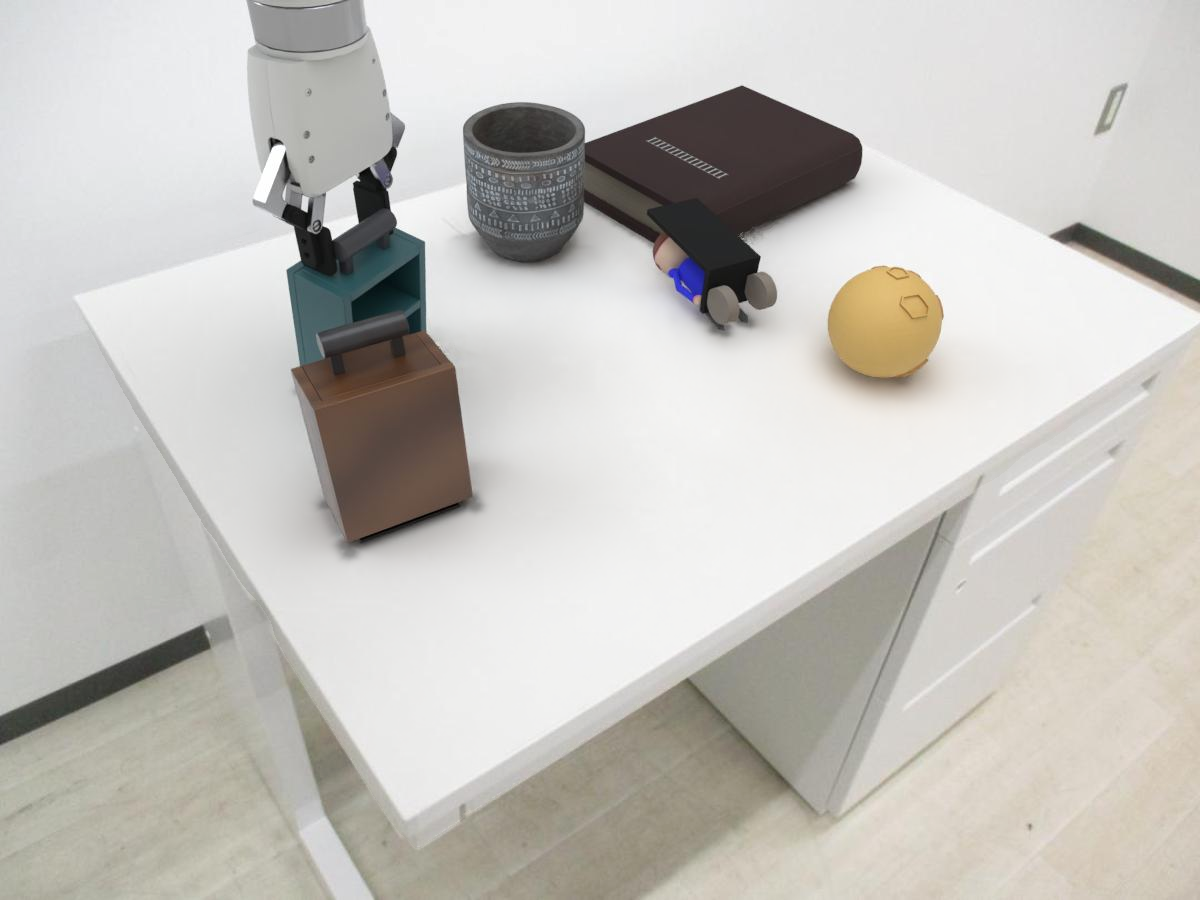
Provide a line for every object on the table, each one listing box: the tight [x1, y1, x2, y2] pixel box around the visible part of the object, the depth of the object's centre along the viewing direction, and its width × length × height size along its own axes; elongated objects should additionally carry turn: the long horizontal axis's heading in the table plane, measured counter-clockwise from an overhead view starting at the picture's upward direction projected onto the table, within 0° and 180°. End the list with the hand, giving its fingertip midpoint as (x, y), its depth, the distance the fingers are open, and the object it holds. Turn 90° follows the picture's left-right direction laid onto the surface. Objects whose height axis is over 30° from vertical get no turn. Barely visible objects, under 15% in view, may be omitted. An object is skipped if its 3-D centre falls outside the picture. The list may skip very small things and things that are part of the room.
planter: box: [462, 101, 586, 263], centre depth 98 cm, size 12×12×13 cm
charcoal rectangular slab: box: [358, 502, 461, 544], centre depth 74 cm, size 6×8×1 cm
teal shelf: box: [285, 208, 427, 366], centre depth 79 cm, size 15×10×6 cm
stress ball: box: [827, 265, 945, 379], centre depth 85 cm, size 10×10×10 cm
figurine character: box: [647, 198, 778, 331], centre depth 93 cm, size 7×8×15 cm
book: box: [584, 84, 863, 245], centre depth 110 cm, size 28×20×6 cm
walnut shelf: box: [290, 310, 474, 543], centre depth 69 cm, size 15×10×6 cm
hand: (348, 247), depth 76 cm, fingers closed on teal shelf, 6 cm apart
